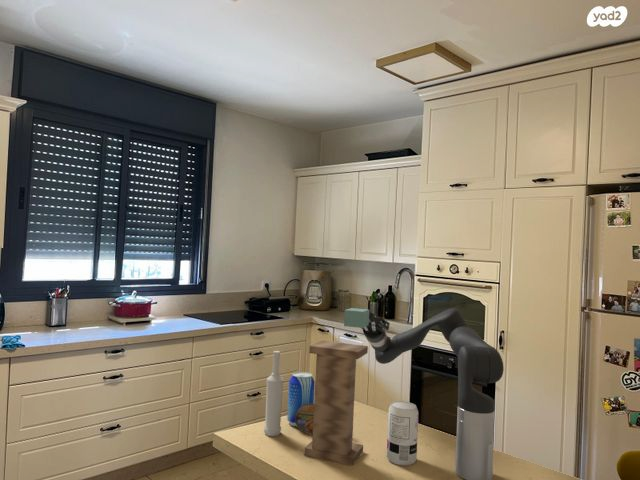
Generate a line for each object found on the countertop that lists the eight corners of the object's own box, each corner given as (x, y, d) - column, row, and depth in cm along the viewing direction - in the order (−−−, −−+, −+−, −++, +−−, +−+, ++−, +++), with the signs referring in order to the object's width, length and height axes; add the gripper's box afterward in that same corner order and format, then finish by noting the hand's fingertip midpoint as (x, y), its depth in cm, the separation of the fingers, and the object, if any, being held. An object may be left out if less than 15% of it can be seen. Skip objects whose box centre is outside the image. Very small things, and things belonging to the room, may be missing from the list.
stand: (362, 451, 132) (367, 346, 134) (352, 465, 123) (357, 351, 124) (317, 442, 138) (322, 340, 139) (304, 455, 128) (309, 345, 130)
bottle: (277, 437, 140) (282, 353, 141) (261, 435, 141) (266, 352, 142) (282, 431, 145) (287, 350, 146) (266, 429, 146) (271, 349, 147)
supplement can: (381, 455, 131) (383, 401, 131) (406, 452, 134) (408, 399, 134) (395, 468, 123) (398, 410, 124) (422, 464, 126) (424, 408, 127)
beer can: (283, 420, 155) (286, 372, 156) (306, 417, 158) (309, 370, 159) (292, 429, 147) (295, 378, 148) (316, 426, 151) (319, 376, 151)
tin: (294, 431, 146) (295, 404, 146) (295, 427, 149) (297, 401, 149) (342, 435, 144) (343, 408, 144) (342, 432, 147) (343, 405, 148)
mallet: (377, 321, 160) (378, 306, 161) (362, 327, 143) (363, 311, 143) (361, 319, 163) (361, 305, 163) (343, 326, 145) (344, 310, 145)
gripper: (359, 322, 174) (347, 301, 161) (395, 325, 169) (387, 305, 156) (355, 341, 171) (343, 322, 157) (392, 345, 166) (383, 326, 152)
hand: (365, 313), depth 156 cm, fingers closed on mallet, 2 cm apart
